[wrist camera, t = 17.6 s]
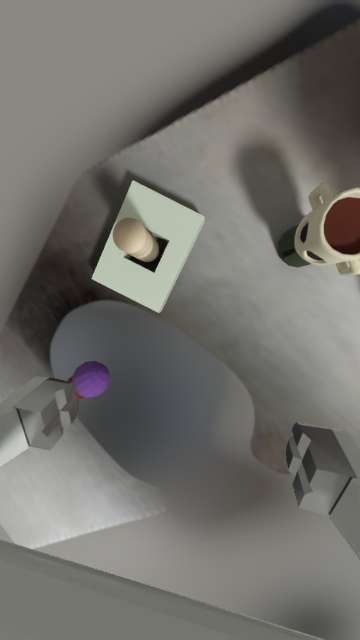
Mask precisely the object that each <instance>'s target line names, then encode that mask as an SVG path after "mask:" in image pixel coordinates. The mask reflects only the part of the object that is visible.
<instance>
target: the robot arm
mask: <svg viewBox="0 0 360 640" xmlns="http://www.w3.org/2000/svg"><path fill="white" fill-rule="evenodd" d="M76 392H77V387H76V384H75V383H73V382H68V381H63V380H59V379H54V378H48V377H43V376H37V377H34V378H33V379H31V380H30V381H29V382H28V383H26V384H25V385H24V386H23V387H21V388H20V389H19V390H17V391H16V392H15V393H14V394H12V395H11V396H10V397H9V398H7V399H6V400H5V401H4V402H2V403H1V404H0V466H2V465H3V464H5V463H6V462H8V461H9V460H11V459H12V458H14V457H15V456H17V455H18V454H20V453H22V452H23V451H25V450H26V449H28V448H29V446H31V447H36V448H41V449H46V450H51V449H52V448H53V447H54V446H55V444H56V443H57V442H58V440H59V439H60V438H61V437H62V435H63V428H65V427H67V426H69V425H70V424H72V422H73V421H74V419H75V418H76V416H77V413H78V411H79V399H78V398H77V397H76V396H75V393H76ZM292 433H293V437H291V438H289V439H288V441H287V445H286V462H287V466H288V470H289V471H290V472H291V473H292V475H293V476H294V477H295V478H294V481H293V484H292V486H293V489H294V493H295V496H296V500H297V504H298V508H301V509H305V510H309V511H312V512H316V513H320V514H324V515H328V516H329V518H330V520H331V521H332V522H333V524H334V525H335V526H336V528H337V529H338V531H339V532H340V533H341V534H342V536H343V537H344V539H345V540H346V541H347V543H348V544H349V545H350V547H351V548H352V549H353V551H354V552H355V554H356V555H357V556H358V558H359V559H360V450H359V448H358V447H357V445H356V443H355V442H354V440H353V438H352V437H351V435H350V434H349V433H348V432H347V431H346V430H340V429H334V428H327V427H322V426H316V425H310V424H304V423H298V422H296V423H295V424H294V425H293V427H292ZM0 640H324V639H321V638H318V637H314V636H311V635H308V634H305V633H301V632H298V631H295V630H292V629H288V628H285V627H282V626H279V625H275V624H272V623H269V622H266V621H262V620H259V619H256V618H253V617H250V616H246V615H243V614H240V613H236V612H233V611H230V610H226V609H224V608H220V607H217V606H213V605H211V604H207V603H204V602H200V601H198V600H195V599H191V598H188V597H185V596H181V595H178V594H175V593H172V592H169V591H165V590H162V589H159V588H156V587H152V586H149V585H146V584H143V583H139V582H136V581H133V580H130V579H127V578H123V577H120V576H117V575H114V574H110V573H107V572H104V571H101V570H97V569H94V568H91V567H88V566H84V565H81V564H78V563H75V562H72V561H68V560H64V559H61V558H59V557H55V556H52V555H49V554H45V553H42V552H39V551H36V550H33V549H29V548H26V547H23V546H20V545H16V544H13V543H10V542H7V541H3V540H0Z"/></svg>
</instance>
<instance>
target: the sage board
mask: <svg viewBox="0 0 360 640" xmlns="http://www.w3.org/2000/svg"><path fill="white" fill-rule="evenodd" d="M124 218H134V219H136V220H138V221H139V222H140V223H141V224H142V225H143V226H144V227H145V229H146V230H147V231H148V232H149V233H150V234H152V235H154V236H156V237H158V238H160V239H162V240H164V241H166V242H168V245H167V247H166V249H165V251H164V253H163V255H162V258H161V260H160V262H159V264H158V266H157V268H156V270H155V273H154V272H152V271H150V270H148V269H146V268H144V267H143V266H141V265H139V264H137V263H135V262H133V261H131V260H129V259H130V257H131V255H129V254H127V253H125V252H123V251H121V250H120V249H119V248H118V247H117V246H116V245H115V243H114V240H113V229H114V227H115V225H116V224H117V223H118V222H119V221H120V220H121V219H124ZM204 222H205V217H204V216H202V215H200V214H198V213H197V212H195V211H193V210H191V209H189V208H187V207H185V206H183V205H181V204H179V203H177V202H175V201H173V200H171V199H169V198H167V197H165V196H163V195H161V194H159V193H157V192H155V191H153V190H151V189H149V188H147V187H145V186H143V185H141V184H139V183H137V182H135V181H132V183H131V186H130V188H129V190H128V193H127V195H126V198H125V200H124V202H123V205H122V207H121V209H120V212H119V214H118V217H117V219H116V221H115V224H114V226H113V229H112V231H111V233H110V236H109V238H108V241H107V243H106V245H105V248H104V250H103V252H102V255H101V257H100V260H99V262H98V264H97V267H96V269H95V272H94V274H93V276H92V279H93V280H95V281H97V282H99V283H101V284H103V285H105V286H107V287H109V288H111V289H113V290H115V291H117V292H119V293H121V294H123V295H125V296H127V297H129V298H131V299H133V300H134V301H136V302H138V303H140V304H142V305H144V306H146V307H148V308H150V309H152V310H154V311H156V312H158V313H159V312H160V311H162V309H163V307H164V305H165V303H166V301H167V299H168V296H169V294H170V292H171V290H172V288H173V286H174V284H175V282H176V280H177V278H178V276H179V274H180V272H181V270H182V268H183V266H184V264H185V262H186V260H187V257H188V255H189V253H190V251H191V249H192V247H193V245H194V243H195V241H196V239H197V237H198V235H199V233H200V231H201V229H202V227H203V225H204Z"/></svg>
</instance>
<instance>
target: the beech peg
mask: <svg viewBox="0 0 360 640" xmlns="http://www.w3.org/2000/svg"><path fill="white" fill-rule="evenodd" d="M113 240H114V243H115V245H116V246H117V247H118V248H119V249H120V250H121V251H123V252H125V253H127V254H129V255H131V256H133V257H135V258H137V259H139V260H141V261H143V262H150V261H154V260H156V259H157V258H158V256H159V245H158V243H157V241H156V240H155V239H154V238H153V237H152V236H151V234H150V233H149V232H148V231H147V230H146V229H145V227H144V226H143V225H142V224H141V223H140V222H139V221H138V220H136V219H134V218H124V219H121V220H120V221H119V222H118V223H117V224H116V225H115V227H114V229H113Z"/></svg>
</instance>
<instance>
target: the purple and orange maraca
mask: <svg viewBox="0 0 360 640" xmlns="http://www.w3.org/2000/svg"><path fill="white" fill-rule="evenodd" d="M109 379H110V375H109V371H108V369H107V368H106V366H104V365H103V364H101V363H99V362H96V361H92V362H86V363H84V364H82V365H81V366H79V367H78V368H77V369H76V371H75V372H74V375H73V376H72V377H71V378H69V380H68V382H73V383H75V384H76V387H77V392H76V393H75V396H76V397H77V398H78V399H81V398H83V397H94V396H97V395H99V394H101V393H102V392H103V391H104V390H105V389H106V388H107V386H108V384H109Z"/></svg>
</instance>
